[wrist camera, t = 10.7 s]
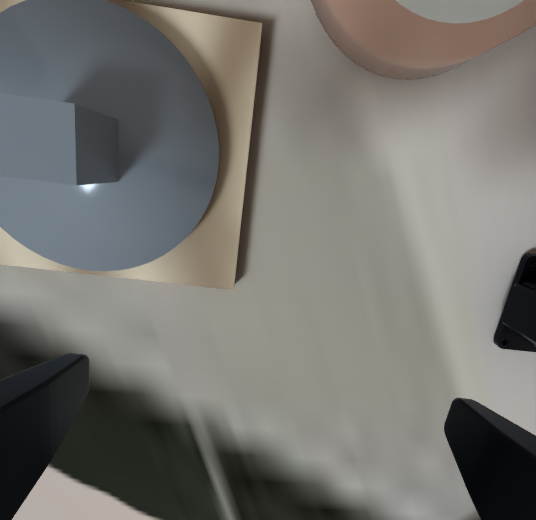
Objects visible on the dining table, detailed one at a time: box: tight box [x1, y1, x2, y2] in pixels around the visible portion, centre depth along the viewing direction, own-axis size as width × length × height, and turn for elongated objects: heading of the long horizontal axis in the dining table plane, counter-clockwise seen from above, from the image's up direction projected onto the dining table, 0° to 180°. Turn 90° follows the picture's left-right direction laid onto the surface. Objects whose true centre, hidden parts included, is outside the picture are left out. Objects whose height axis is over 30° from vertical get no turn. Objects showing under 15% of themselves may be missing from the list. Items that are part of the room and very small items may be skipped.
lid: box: [0, 0, 220, 271], centre depth 15 cm, size 13×13×5 cm
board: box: [0, 0, 262, 290], centre depth 18 cm, size 16×14×1 cm
